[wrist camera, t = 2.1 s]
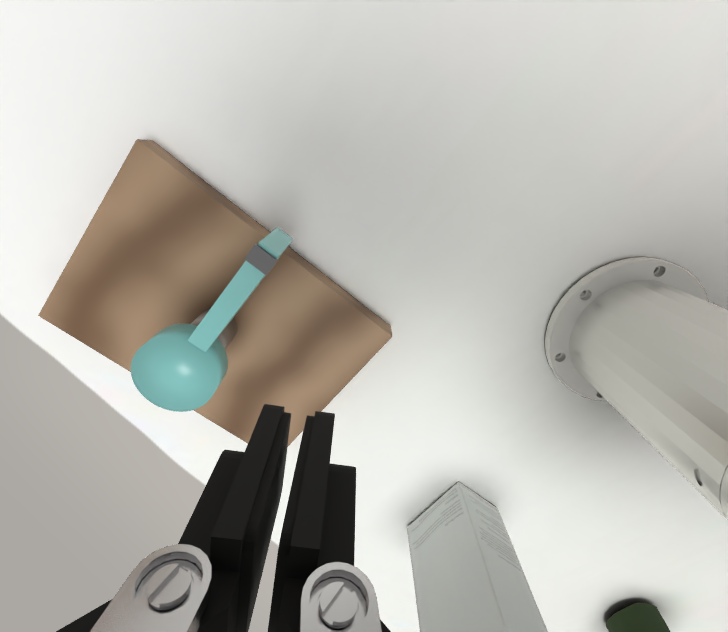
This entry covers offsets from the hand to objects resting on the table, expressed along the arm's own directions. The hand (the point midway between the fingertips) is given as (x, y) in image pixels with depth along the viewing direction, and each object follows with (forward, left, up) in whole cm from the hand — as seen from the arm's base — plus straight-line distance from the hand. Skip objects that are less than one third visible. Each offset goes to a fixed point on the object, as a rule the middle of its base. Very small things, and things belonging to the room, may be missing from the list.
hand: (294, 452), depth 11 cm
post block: (+4, +9, -21) cm, 24 cm away
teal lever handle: (+4, +6, -16) cm, 18 cm away
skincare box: (-26, +13, -21) cm, 36 cm away
